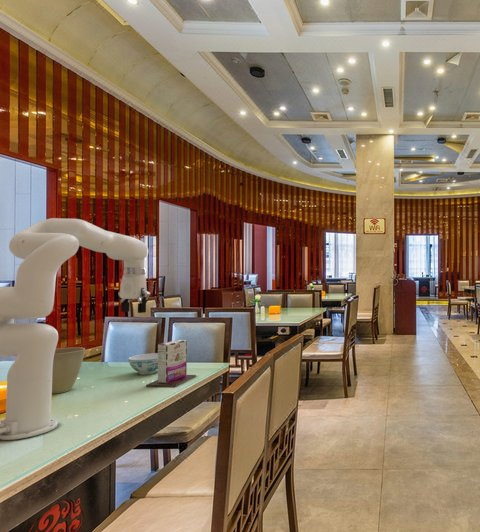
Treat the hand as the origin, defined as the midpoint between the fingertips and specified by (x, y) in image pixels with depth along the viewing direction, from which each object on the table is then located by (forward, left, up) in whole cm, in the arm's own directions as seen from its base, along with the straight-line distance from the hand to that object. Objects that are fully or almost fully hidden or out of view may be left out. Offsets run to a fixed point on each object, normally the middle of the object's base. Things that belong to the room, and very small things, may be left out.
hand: (133, 312), depth 159 cm
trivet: (+8, -13, -30) cm, 34 cm away
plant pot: (-17, +16, -31) cm, 38 cm away
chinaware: (+15, +10, -31) cm, 35 cm away
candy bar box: (+8, -13, -30) cm, 34 cm away
